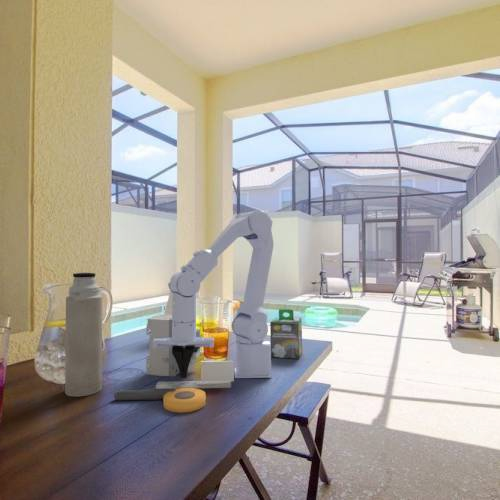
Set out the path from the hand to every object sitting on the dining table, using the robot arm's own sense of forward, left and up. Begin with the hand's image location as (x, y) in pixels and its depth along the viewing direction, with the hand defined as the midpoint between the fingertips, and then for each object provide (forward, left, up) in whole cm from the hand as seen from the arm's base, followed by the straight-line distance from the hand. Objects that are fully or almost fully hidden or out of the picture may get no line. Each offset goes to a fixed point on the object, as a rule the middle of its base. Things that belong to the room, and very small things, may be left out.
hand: (183, 376), depth 91 cm
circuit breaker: (+3, -12, -3) cm, 13 cm away
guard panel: (-8, 0, -1) cm, 8 cm away
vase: (+6, -56, -3) cm, 56 cm away
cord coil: (-2, +10, -2) cm, 11 cm away
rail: (-3, 0, -2) cm, 3 cm away
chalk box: (-30, -28, -3) cm, 41 cm away
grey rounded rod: (+7, +7, -2) cm, 11 cm away
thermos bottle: (+23, +1, -3) cm, 24 cm away
